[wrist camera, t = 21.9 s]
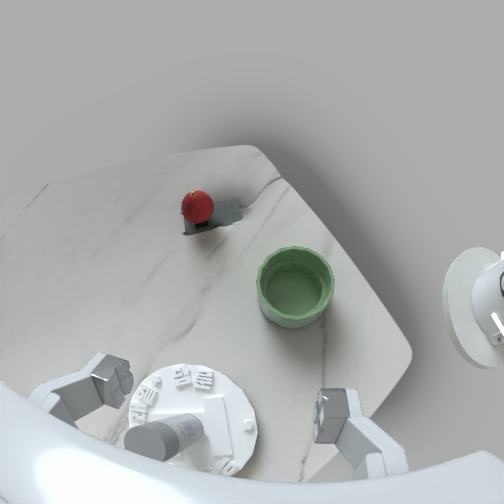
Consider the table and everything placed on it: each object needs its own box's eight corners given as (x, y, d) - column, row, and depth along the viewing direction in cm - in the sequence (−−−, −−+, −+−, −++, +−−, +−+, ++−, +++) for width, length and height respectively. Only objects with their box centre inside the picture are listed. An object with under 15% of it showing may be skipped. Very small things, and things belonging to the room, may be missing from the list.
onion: (202, 236, 50) (191, 211, 43) (181, 221, 52) (168, 196, 45) (222, 215, 52) (215, 188, 45) (201, 201, 54) (192, 174, 47)
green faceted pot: (328, 270, 46) (337, 252, 40) (321, 333, 41) (330, 324, 35) (265, 260, 48) (264, 241, 42) (252, 322, 43) (249, 311, 37)
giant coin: (242, 493, 29) (241, 499, 27) (126, 456, 32) (118, 459, 30) (268, 379, 38) (268, 379, 36) (149, 350, 41) (141, 348, 38)
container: (209, 427, 33) (176, 448, 19) (190, 448, 31) (149, 476, 18) (184, 407, 34) (139, 415, 21) (165, 428, 33) (114, 443, 19)
